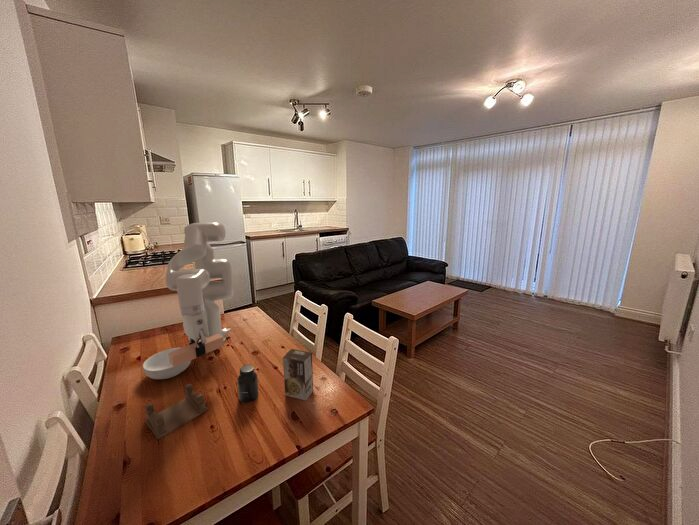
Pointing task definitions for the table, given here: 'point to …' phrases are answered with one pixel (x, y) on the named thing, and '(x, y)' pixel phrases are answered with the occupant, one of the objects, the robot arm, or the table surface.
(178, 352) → the pink rectangular bar
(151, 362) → the cereal bowl
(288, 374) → the coffee box
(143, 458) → the table surface
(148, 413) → the plate with corner blocks
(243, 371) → the supplement bottle
